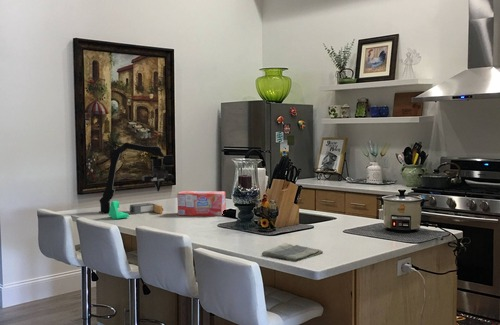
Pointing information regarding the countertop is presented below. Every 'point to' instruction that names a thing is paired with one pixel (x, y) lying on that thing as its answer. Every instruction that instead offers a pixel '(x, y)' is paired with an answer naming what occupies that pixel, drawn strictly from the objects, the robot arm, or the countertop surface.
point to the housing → (142, 208)
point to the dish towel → (291, 252)
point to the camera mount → (116, 211)
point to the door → (158, 209)
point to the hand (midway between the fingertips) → (158, 191)
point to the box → (201, 203)
